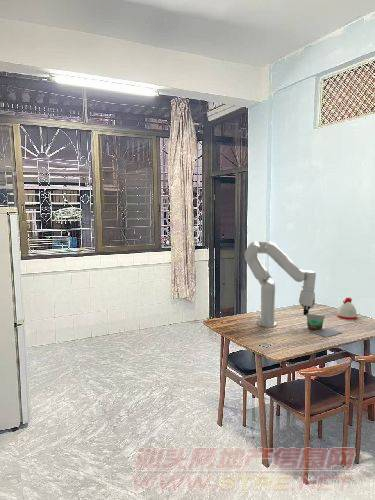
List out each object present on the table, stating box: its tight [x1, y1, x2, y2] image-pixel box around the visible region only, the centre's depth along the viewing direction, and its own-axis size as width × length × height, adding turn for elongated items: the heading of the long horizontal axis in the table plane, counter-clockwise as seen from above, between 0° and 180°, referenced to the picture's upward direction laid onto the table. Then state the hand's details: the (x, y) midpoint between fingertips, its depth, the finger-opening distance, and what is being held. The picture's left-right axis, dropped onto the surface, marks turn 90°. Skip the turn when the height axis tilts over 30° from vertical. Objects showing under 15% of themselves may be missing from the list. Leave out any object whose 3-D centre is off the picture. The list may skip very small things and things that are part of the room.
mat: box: [310, 327, 343, 339], centre depth 241 cm, size 12×16×1 cm
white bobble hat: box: [336, 297, 358, 320], centre depth 277 cm, size 14×14×15 cm
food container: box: [305, 312, 326, 331], centre depth 248 cm, size 12×6×10 cm, turn 76°
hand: (305, 314), depth 253 cm, fingers closed
